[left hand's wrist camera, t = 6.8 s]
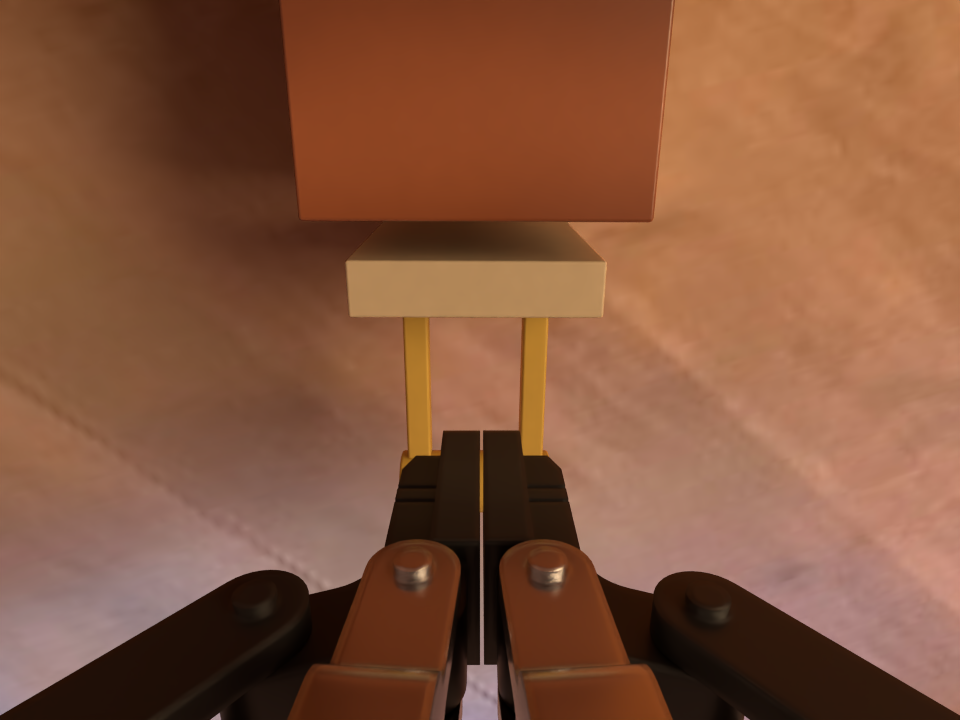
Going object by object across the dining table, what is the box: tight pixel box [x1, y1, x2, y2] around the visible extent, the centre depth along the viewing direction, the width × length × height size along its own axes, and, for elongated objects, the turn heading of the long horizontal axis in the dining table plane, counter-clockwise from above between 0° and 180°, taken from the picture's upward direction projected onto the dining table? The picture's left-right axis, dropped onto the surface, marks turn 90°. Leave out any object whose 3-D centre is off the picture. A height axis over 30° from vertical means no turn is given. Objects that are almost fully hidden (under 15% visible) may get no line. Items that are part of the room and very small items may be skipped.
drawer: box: [345, 221, 607, 512], centre depth 14 cm, size 24×5×7 cm, turn 0°
